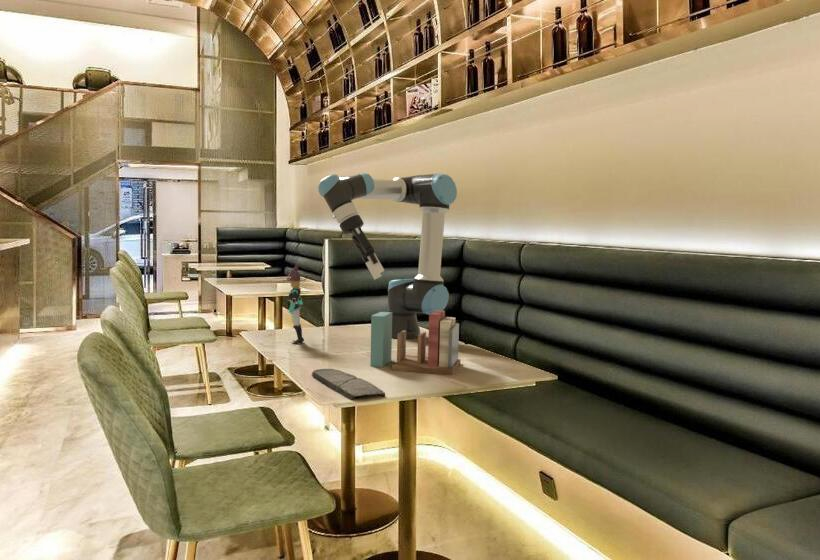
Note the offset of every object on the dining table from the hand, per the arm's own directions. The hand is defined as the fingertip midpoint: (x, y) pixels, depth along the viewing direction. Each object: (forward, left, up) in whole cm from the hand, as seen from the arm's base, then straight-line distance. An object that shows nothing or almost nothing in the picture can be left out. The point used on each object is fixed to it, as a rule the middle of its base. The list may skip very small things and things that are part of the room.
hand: (379, 275), depth 202 cm
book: (+6, +3, -28) cm, 29 cm away
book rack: (+6, +19, -28) cm, 34 cm away
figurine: (-15, -37, -28) cm, 49 cm away
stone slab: (+36, +2, -28) cm, 46 cm away
